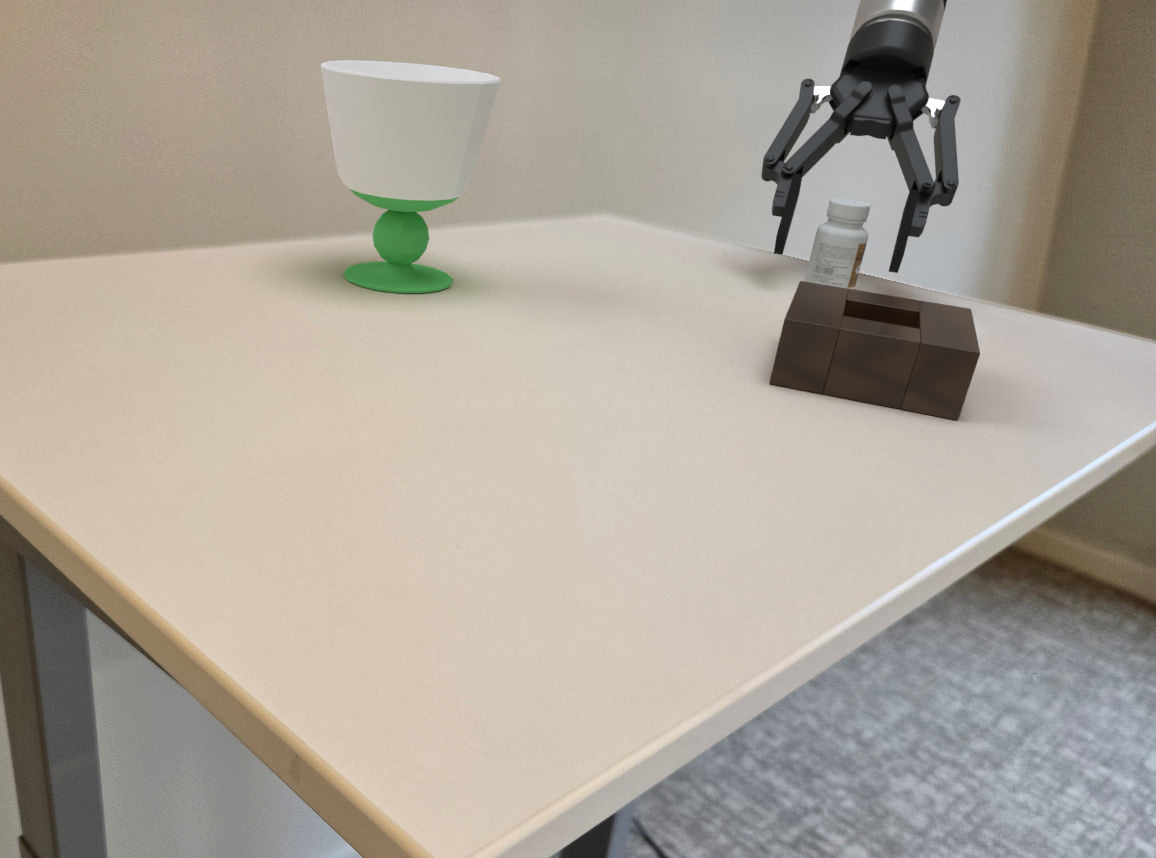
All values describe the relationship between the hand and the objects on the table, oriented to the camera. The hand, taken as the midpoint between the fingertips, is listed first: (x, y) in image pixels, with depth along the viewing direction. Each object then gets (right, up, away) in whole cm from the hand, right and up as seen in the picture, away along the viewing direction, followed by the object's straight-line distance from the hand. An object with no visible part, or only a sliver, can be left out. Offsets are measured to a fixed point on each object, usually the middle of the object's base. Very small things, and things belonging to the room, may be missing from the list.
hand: (836, 254), depth 93 cm
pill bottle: (+1, -2, +5) cm, 5 cm away
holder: (-5, -13, -18) cm, 22 cm away
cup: (-38, -3, -4) cm, 38 cm away
